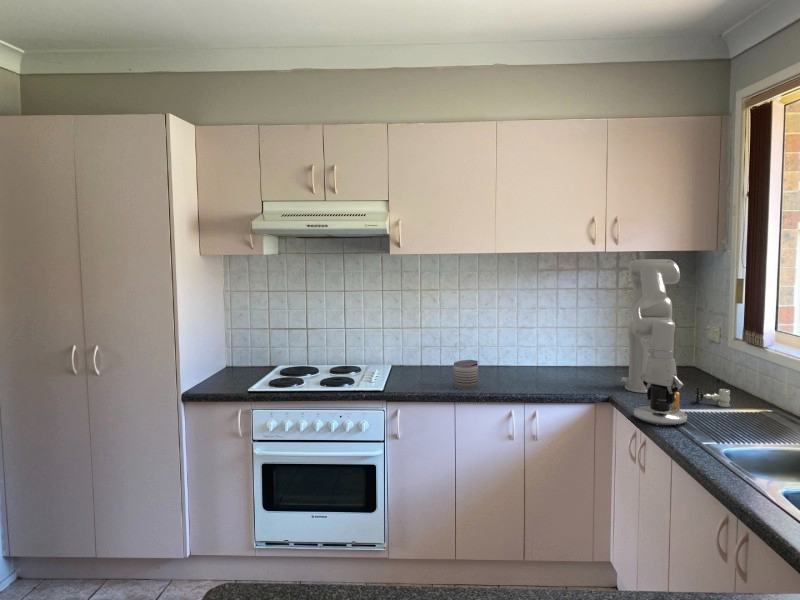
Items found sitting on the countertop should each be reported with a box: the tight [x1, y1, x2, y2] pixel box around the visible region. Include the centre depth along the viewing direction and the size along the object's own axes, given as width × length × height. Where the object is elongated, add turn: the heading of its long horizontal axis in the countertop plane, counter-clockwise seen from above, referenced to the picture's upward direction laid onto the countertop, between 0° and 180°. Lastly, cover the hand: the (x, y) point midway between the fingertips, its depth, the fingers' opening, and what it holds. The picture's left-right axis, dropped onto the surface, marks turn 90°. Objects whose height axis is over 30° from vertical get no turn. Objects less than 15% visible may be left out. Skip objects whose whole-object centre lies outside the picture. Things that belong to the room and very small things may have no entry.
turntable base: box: [639, 419, 674, 427], centre depth 209 cm, size 14×14×1 cm
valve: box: [695, 387, 731, 408], centre depth 227 cm, size 7×7×12 cm
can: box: [453, 359, 479, 391], centre depth 261 cm, size 11×11×12 cm
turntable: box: [633, 391, 688, 425], centre depth 210 cm, size 22×18×7 cm
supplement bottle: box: [649, 384, 671, 412], centre depth 208 cm, size 7×7×12 cm
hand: (660, 400), depth 209 cm, fingers closed on supplement bottle, 6 cm apart
